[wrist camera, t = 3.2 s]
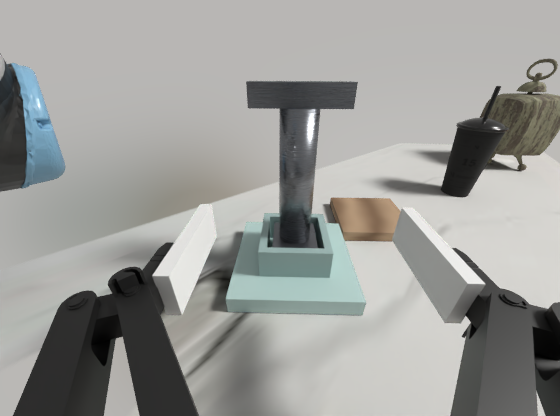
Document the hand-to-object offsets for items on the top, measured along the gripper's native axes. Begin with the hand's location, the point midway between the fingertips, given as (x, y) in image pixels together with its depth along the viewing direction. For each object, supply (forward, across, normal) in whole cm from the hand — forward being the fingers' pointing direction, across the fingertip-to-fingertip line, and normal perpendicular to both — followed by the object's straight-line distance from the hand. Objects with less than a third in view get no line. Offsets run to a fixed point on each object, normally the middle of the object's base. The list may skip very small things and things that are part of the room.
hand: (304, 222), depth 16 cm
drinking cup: (+32, +35, -13) cm, 49 cm away
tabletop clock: (+51, +58, -13) cm, 78 cm away
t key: (+9, 0, -10) cm, 14 cm away
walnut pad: (+20, +13, -12) cm, 27 cm away
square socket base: (+9, 0, -12) cm, 15 cm away
